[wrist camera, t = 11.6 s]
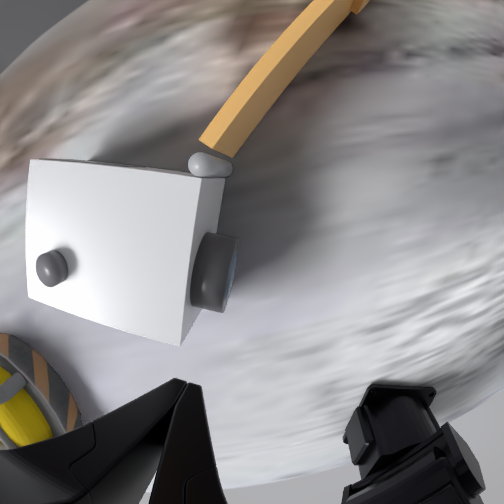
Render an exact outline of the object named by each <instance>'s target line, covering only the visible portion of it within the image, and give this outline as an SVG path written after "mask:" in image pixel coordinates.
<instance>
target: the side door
mask: <svg viewBox="0 0 504 504" xmlns="http://www.w3.org/2000/svg"><path fill="white" fill-rule="evenodd" d="M368 2H369V0H314V1H313V2H312V3H311V4H310V5H309V6H308V7H307V8H306V9H305V10H304V11H303V12H302V13H301V14H300V15H299V16H298V17H297V18H296V19H295V21H294V22H293V23H292V24H291V25H290V26H289V27H288V28H287V29H286V30H285V31H284V33H283V34H282V35H281V36H280V37H279V38H278V39H277V40H276V42H275V43H274V44H273V45H272V46H271V47H270V48H269V50H268V51H267V52H266V53H265V54H264V55H263V57H262V58H261V59H260V60H259V61H258V63H257V64H256V65H255V66H254V67H253V69H252V70H251V71H250V72H249V73H248V75H247V76H246V77H245V78H244V80H243V81H242V82H241V83H240V85H239V86H238V87H237V89H236V90H235V91H234V92H233V94H232V95H231V96H230V98H229V99H228V100H227V101H226V103H225V104H224V105H223V107H222V108H221V109H220V111H219V112H218V113H217V115H216V116H215V117H214V119H213V120H212V122H211V123H210V124H209V126H208V127H207V128H206V130H205V131H204V133H203V134H202V135H201V137H200V138H199V140H200V141H201V142H203V143H204V144H206V145H207V146H209V147H210V148H212V149H214V150H216V151H218V152H220V153H222V154H225V155H227V156H229V157H231V158H233V157H234V156H235V154H236V153H237V151H238V150H239V149H240V147H241V146H242V145H243V143H244V142H245V141H246V139H247V138H248V136H249V135H250V134H251V132H252V131H253V130H254V128H255V127H256V126H257V124H258V123H259V122H260V121H261V119H262V118H263V117H264V115H265V114H266V113H267V111H268V110H269V109H270V108H271V106H272V105H273V104H274V102H275V101H276V100H277V99H278V97H279V96H280V95H281V94H282V92H283V91H284V90H285V88H286V87H287V86H288V85H289V84H290V82H291V81H292V80H293V79H294V77H295V76H296V75H297V74H298V72H299V71H300V70H301V69H302V68H303V66H304V65H305V64H306V63H307V62H308V60H309V59H310V58H311V57H312V56H313V54H314V53H315V52H316V51H317V50H318V49H319V47H320V46H321V45H322V44H323V43H324V42H325V40H326V39H327V38H328V37H329V36H330V35H331V34H332V32H333V31H334V30H335V29H336V28H337V27H338V26H339V24H340V23H341V22H342V21H343V20H344V19H345V18H346V17H347V16H348V15H349V13H350V12H353V13H355V14H356V15H357V14H358V13H359V12H360V11H361V10H362V9H363V8H364V7H365V5H366V4H367V3H368ZM188 168H189V170H190V172H191V173H192V174H193V175H195V176H204V177H228V176H229V175H231V173H232V171H233V166H232V164H231V163H230V162H229V161H226V160H223V159H220V158H218V157H215V156H212V155H209V154H206V153H203V152H198V153H195V154H193V155H192V156H191V157H190V159H189V162H188Z"/></svg>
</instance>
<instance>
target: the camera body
mask: <svg viewBox="0 0 504 504" xmlns="http://www.w3.org/2000/svg"><path fill="white" fill-rule="evenodd" d="M224 185H225V178H219V177H204V176H195V175H193V174H192V173H187V172H180V171H173V170H166V169H158V168H150V167H142V166H134V165H125V164H116V163H106V162H96V161H85V160H73V159H39V160H37V159H30V167H29V176H28V188H27V204H26V269H27V285H28V296H29V297H30V298H32V299H35V300H37V301H40V302H42V303H45V304H47V305H50V306H52V307H55V308H58V309H60V310H63V311H66V312H68V313H71V314H74V315H77V316H80V317H82V318H85V319H88V320H91V321H94V322H97V323H100V324H103V325H106V326H109V327H112V328H116V329H119V330H122V331H125V332H129V333H132V334H135V335H139V336H142V337H146V338H149V339H153V340H156V341H160V342H164V343H167V344H171V345H175V346H179V347H180V346H181V344H182V342H183V341H184V339H185V337H186V336H187V334H188V332H189V330H190V329H191V327H192V325H193V323H194V322H195V320H196V318H197V317H198V315H199V313H200V311H201V310H202V308H203V309H207V310H212V311H216V312H221V313H223V312H224V310H225V308H226V305H227V301H228V298H229V295H230V292H231V288H232V284H233V280H234V275H235V269H236V263H237V252H238V238H236V237H231V236H225V235H220V234H216V233H217V227H218V220H219V214H220V208H221V202H222V197H223V191H224Z"/></svg>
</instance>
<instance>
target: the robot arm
mask: <svg viewBox="0 0 504 504" xmlns="http://www.w3.org/2000/svg"><path fill="white" fill-rule="evenodd" d="M372 390H375V391H373V392H371V391H372ZM431 392H432V393H431ZM430 393H431V394H430ZM435 395H436V390H435V389H434V388H433V387H412V386H393V385H379V384H372V385H370V386H369V387H368V388H367V390H366V392H365V394H364V396H363V398H362V400H361V402H360V405H359V406H358V407H357V408H356V409H355V411H354V413H353V415H352V417H351V419H350V421H349V423H348V425H347V427H346V429H345V430H346V432H345V434H344V436H343V442H344V443H345V444H349V449H350V454H351V459H352V463H353V464H354V465H358V466H359V471H360V475H361V480H360V481H358V482H356V483H354V484H353V485H352V484H350V485H348V486H346V487H344V491H343V497H342V503H341V504H484V503H483V502H482V499H481V497H480V495H479V494H480V493H481V492H483V491H484V490H485V484H484V480H483V476H482V473H481V469H480V466H479V463H478V461H477V459H476V458H475V456H474V454H473V453H472V451H471V449H470V448H469V446H468V444H467V443H466V442H465V441H464V440H463V438H462V437H461V436H460V435H459V434H458V433H457V432H456V431H455V430H454V428H453V427H452V426H451V425H450V424H449V423H448V422H446V423H445V424H444V425H442V426H441V428H440V426H439V424H438V422H437V421H436V419H435V417H434V415H433V413H432V412H431V410H430V408H429V406H430V404H431V403H432V401H433V399H434V397H435ZM156 471H157V472H156ZM155 473H156V476H155V480H154V484H153V488H152V492H151V496H150V500H149V504H227V501H226V498H225V496H224V493H223V490H222V486H221V483H220V479H219V475H218V470H217V467H216V462H215V457H214V452H213V447H212V442H211V437H210V431H209V426H208V420H207V415H206V409H205V403H204V398H203V392H202V387H201V386H200V385H197V384H193V383H188V384H187V382H186V381H184V380H180V379H177V378H173V379H171V380H170V381H168V382H166V383H164V384H162V385H161V386H159V387H157V388H155V389H153V390H151V391H150V392H148V393H146V394H144V395H142V396H140V397H138V398H137V399H135V400H133V401H131V402H129V403H127V404H125V405H123V406H121V407H119V408H117V409H116V410H114V411H112V412H110V413H108V414H106V415H104V416H102V417H100V418H98V419H96V420H94V421H93V423H92V422H89V423H87V424H85V425H83V426H81V427H79V428H76V429H74V430H72V431H70V432H67V433H64V434H62V435H59V436H56V437H53V438H50V439H46V440H43V441H40V442H36V443H33V444H29V445H26V446H22V447H18V448H14V449H7V450H0V504H139V502H140V500H141V499H142V497H143V495H144V493H145V491H146V489H147V488H148V486H149V484H150V482H151V480H152V478H153V477H154V475H155Z"/></svg>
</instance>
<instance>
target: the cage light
mask: <svg viewBox="0 0 504 504" xmlns="http://www.w3.org/2000/svg"><path fill="white" fill-rule="evenodd" d="M81 426H82V422H81V416H80V411H79V409H78V407H77V405H76V403H75V401H74V398H73V396H72V394H71V393H70V391H69V390H68V389H67V387H66V386H65V384H64V383H63V381H62V379H61V378H60V376H59V375H58V374H57V373H56V372H55V371H54V370H53V368H52V367H51V366H50V365H49V364H48V363H47V361H46V360H45V359H44V358H43V357H42V356H41V355H40V354H38V353H37V352H36V351H35V350H34V349H33V348H31V347H30V346H29V345H28V344H27V343H25V342H23V341H22V340H20V339H18V338H16V337H15V336H13V335H9V334H3V333H0V450H7V449H14V448H18V447H22V446H26V445H29V444H33V443H36V442H40V441H43V440H46V439H50V438H53V437H56V436H59V435H62V434H64V433H67V432H70V431H72V430H74V429H76V428H79V427H81Z"/></svg>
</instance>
